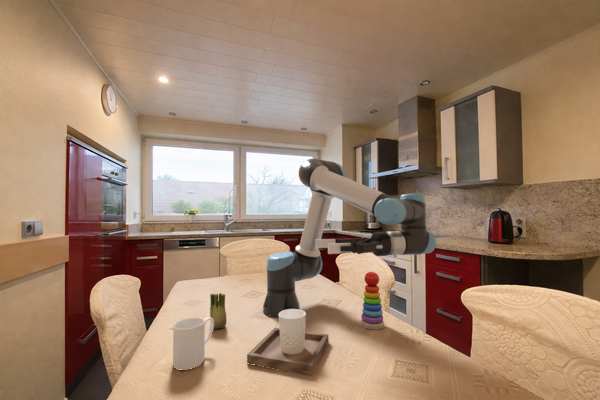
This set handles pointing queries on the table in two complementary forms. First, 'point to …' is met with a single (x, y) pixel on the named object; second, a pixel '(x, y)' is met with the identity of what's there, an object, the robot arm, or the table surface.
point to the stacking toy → (372, 303)
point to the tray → (301, 363)
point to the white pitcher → (190, 342)
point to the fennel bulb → (218, 310)
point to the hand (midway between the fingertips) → (321, 246)
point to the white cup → (292, 331)
